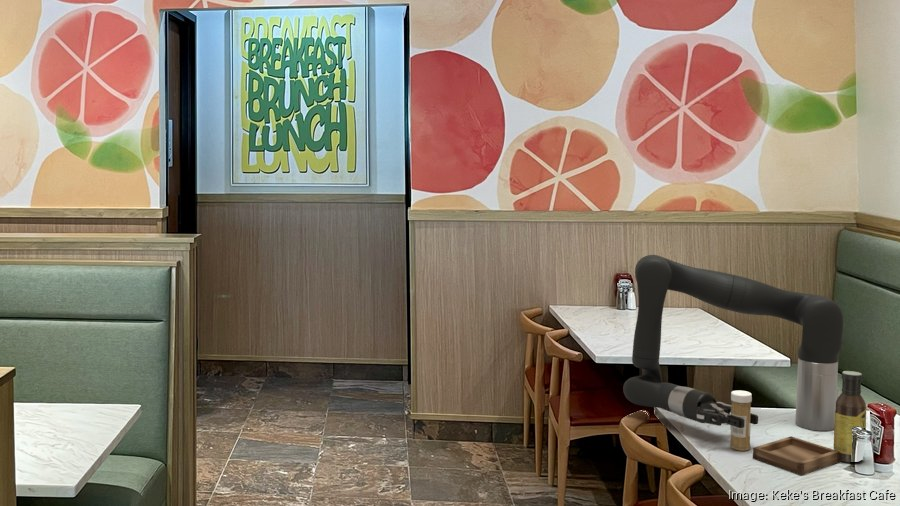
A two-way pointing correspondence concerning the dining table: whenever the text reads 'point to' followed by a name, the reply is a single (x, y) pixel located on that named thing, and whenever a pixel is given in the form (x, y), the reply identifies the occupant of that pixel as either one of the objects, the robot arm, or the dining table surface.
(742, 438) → the sprinkles bottle
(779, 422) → the dining table surface
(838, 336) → the robot arm
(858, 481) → the dining table surface
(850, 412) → the sauce bottle
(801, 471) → the tray
